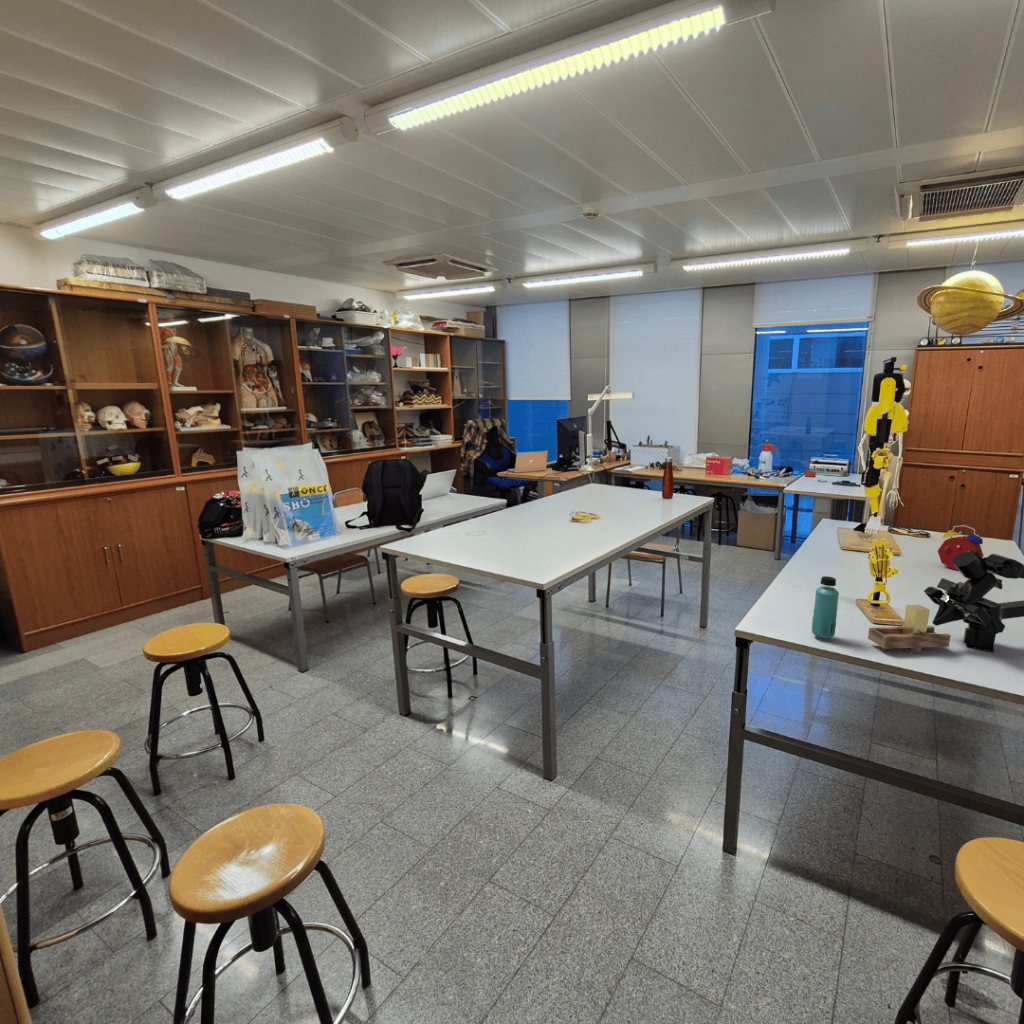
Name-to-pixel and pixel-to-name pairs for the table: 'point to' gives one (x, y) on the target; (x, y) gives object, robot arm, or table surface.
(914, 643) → the wooden footed tray
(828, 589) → the beverage bottle
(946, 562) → the alarm clock
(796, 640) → the table surface
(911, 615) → the beige upright block
